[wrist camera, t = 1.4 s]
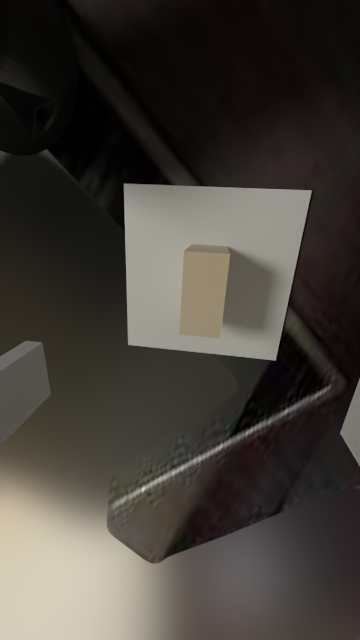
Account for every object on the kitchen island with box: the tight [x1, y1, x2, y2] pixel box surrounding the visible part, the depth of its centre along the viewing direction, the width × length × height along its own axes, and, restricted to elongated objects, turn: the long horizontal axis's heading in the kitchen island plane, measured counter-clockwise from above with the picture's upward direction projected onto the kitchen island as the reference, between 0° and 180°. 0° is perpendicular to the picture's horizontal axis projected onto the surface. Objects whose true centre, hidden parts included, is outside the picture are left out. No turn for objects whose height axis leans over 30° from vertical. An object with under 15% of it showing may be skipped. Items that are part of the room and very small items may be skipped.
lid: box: [124, 184, 312, 360], centre depth 27 cm, size 20×20×9 cm
